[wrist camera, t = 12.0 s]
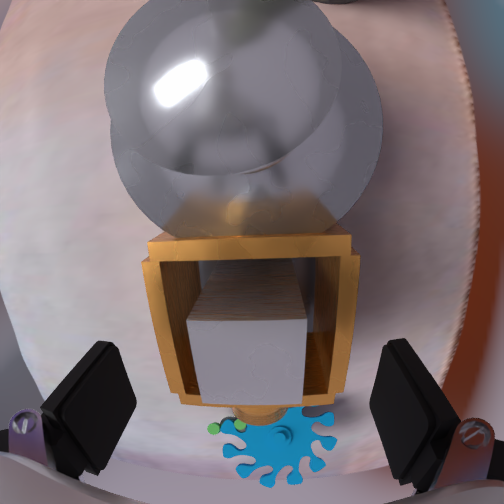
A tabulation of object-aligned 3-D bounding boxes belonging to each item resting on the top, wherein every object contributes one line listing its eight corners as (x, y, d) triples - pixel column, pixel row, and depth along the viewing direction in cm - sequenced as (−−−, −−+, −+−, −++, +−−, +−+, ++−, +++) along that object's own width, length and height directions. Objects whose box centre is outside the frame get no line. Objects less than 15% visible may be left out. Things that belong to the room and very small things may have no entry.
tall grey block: (226, 245, 19) (186, 320, 9) (287, 243, 19) (307, 319, 9) (231, 301, 20) (202, 403, 10) (288, 299, 20) (301, 403, 10)
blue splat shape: (348, 390, 21) (324, 495, 16) (333, 393, 26) (313, 479, 21) (221, 368, 23) (194, 472, 18) (230, 375, 28) (208, 460, 23)
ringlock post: (171, 74, 17) (48, -26, 3) (328, 64, 16) (409, -67, 3) (196, 352, 23) (143, 498, 9) (329, 350, 22) (369, 502, 8)
